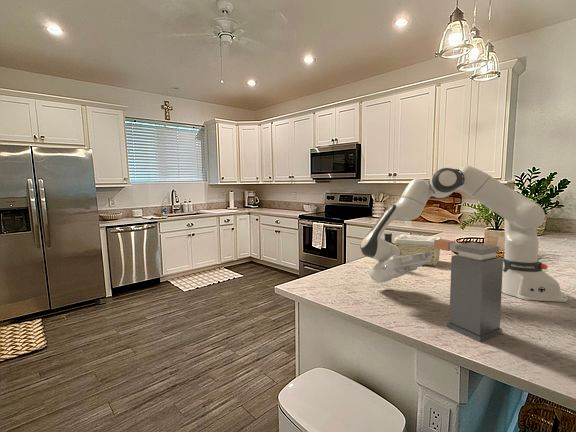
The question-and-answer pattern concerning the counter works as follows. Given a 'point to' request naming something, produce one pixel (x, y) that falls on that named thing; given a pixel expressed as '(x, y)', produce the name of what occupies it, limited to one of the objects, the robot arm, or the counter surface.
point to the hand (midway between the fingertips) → (422, 254)
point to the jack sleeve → (476, 297)
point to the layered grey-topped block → (468, 249)
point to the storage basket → (418, 246)
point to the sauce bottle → (388, 237)
